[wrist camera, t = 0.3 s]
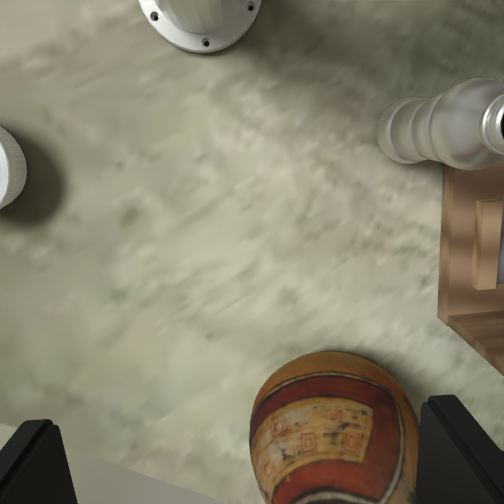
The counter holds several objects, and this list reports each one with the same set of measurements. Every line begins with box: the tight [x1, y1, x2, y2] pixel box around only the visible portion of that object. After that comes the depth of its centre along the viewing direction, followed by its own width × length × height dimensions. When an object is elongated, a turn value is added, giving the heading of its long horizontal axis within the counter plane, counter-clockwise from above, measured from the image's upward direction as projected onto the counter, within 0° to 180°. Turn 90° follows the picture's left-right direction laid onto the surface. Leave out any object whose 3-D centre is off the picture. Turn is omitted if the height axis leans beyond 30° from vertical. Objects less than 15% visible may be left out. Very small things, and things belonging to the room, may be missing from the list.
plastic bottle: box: [376, 77, 504, 171], centre depth 33 cm, size 6×7×20 cm
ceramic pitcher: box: [249, 351, 421, 504], centre depth 37 cm, size 20×20×30 cm
